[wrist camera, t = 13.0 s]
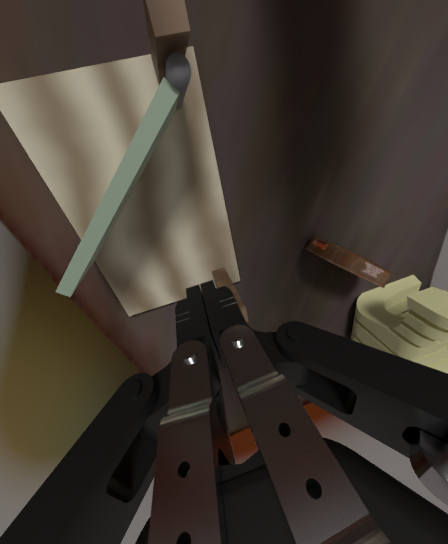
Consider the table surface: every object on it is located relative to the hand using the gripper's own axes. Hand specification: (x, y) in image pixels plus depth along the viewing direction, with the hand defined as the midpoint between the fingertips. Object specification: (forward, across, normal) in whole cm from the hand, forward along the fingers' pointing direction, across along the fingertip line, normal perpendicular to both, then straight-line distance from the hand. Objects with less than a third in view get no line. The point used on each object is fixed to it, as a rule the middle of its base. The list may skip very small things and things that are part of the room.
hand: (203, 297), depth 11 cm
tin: (+19, -22, +13) cm, 32 cm away
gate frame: (+18, +3, -1) cm, 19 cm away
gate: (+17, +5, -5) cm, 18 cm away
